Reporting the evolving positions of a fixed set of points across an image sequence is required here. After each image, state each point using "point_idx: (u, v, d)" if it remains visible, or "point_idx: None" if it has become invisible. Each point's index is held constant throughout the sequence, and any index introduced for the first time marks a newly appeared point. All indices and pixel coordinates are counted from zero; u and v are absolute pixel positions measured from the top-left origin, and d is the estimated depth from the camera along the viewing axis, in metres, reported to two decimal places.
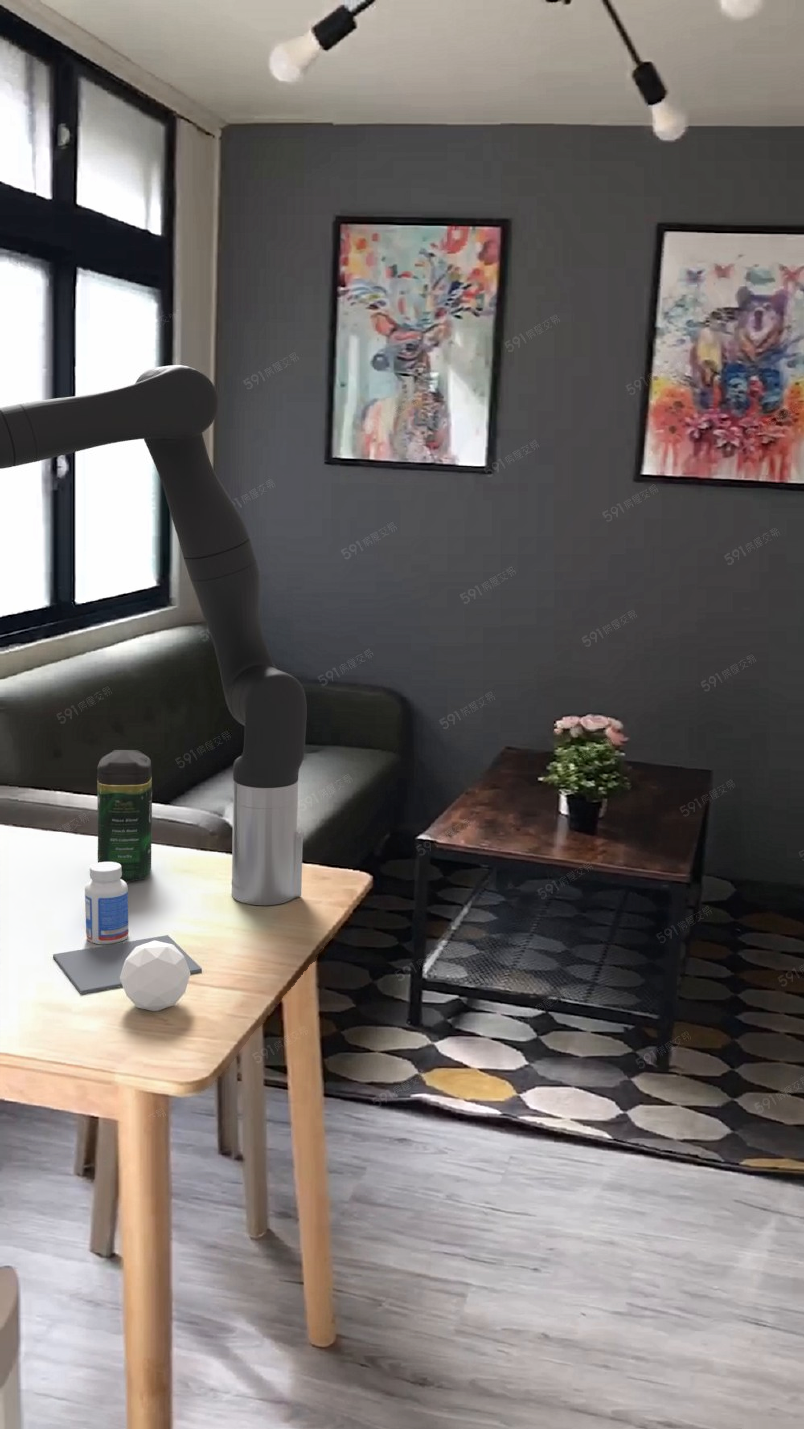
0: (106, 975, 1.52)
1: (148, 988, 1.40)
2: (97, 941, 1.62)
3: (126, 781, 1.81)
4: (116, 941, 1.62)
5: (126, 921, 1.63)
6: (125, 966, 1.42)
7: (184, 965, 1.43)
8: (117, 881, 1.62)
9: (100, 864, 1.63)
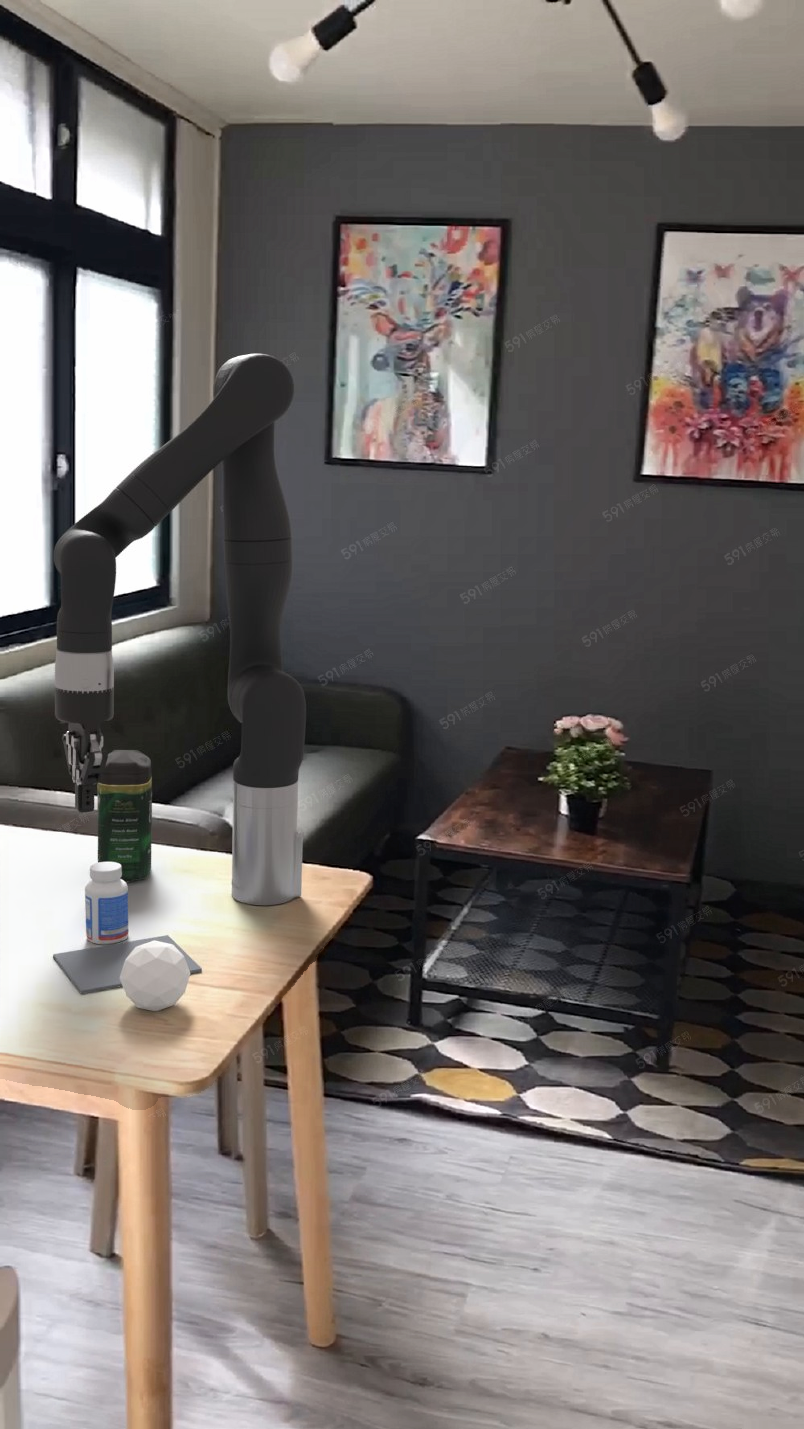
0: (106, 975, 1.52)
1: (148, 988, 1.40)
2: (97, 941, 1.62)
3: (126, 781, 1.81)
4: (116, 941, 1.62)
5: (126, 921, 1.63)
6: (125, 966, 1.42)
7: (184, 965, 1.43)
8: (118, 881, 1.62)
9: (100, 864, 1.63)
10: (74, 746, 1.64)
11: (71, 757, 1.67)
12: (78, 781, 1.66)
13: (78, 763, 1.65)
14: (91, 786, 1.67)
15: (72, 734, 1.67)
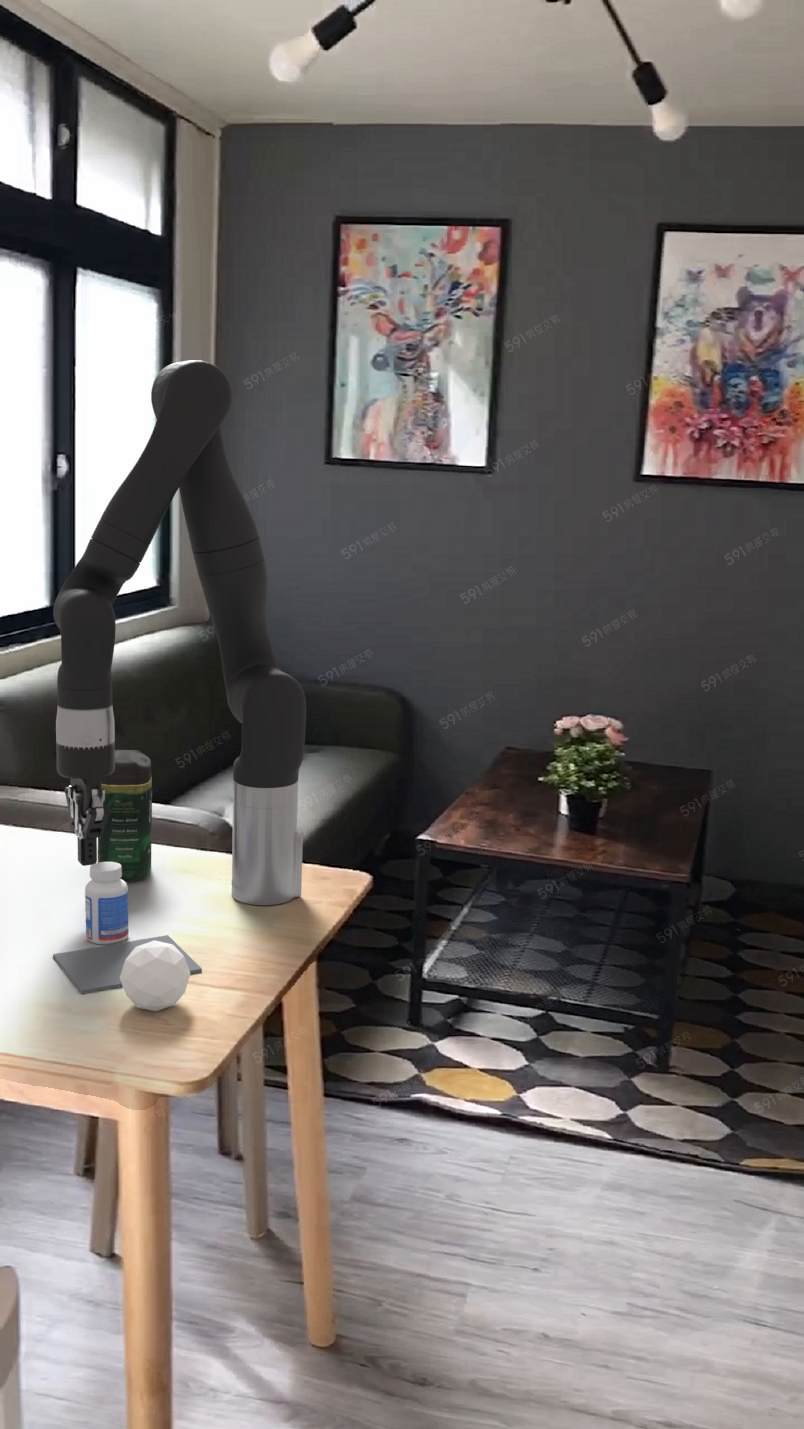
0: (106, 975, 1.52)
1: (148, 988, 1.40)
2: (97, 941, 1.62)
3: (126, 781, 1.81)
4: (116, 941, 1.62)
5: (126, 921, 1.63)
6: (125, 966, 1.42)
7: (184, 965, 1.43)
8: (118, 881, 1.62)
9: (100, 864, 1.63)
10: (76, 801, 1.66)
11: (73, 811, 1.68)
12: (80, 835, 1.67)
13: (80, 817, 1.66)
14: (93, 840, 1.68)
15: (74, 788, 1.68)
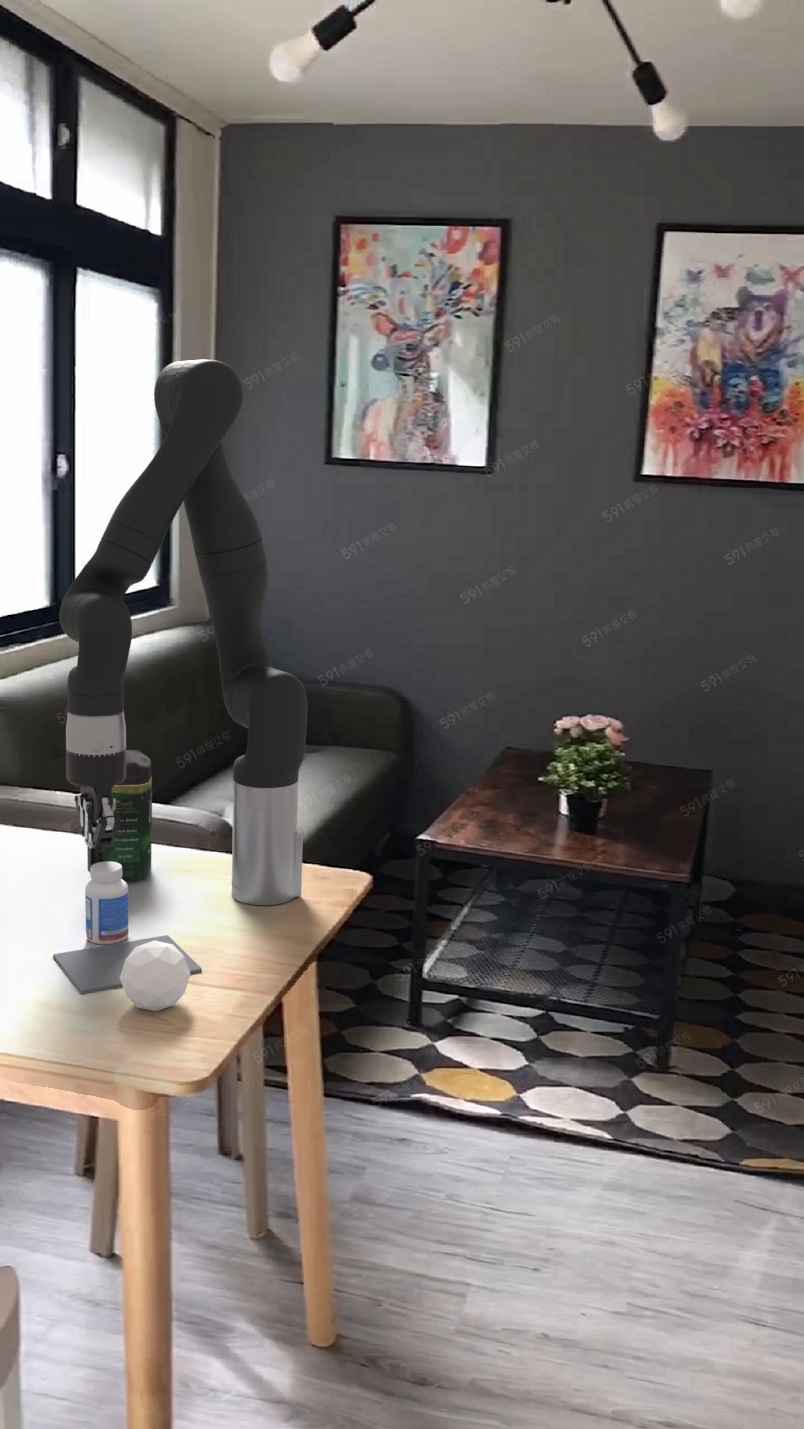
0: (106, 975, 1.52)
1: (148, 988, 1.40)
2: (97, 941, 1.62)
3: (126, 781, 1.81)
4: (116, 941, 1.62)
5: (126, 921, 1.63)
6: (125, 966, 1.42)
7: (184, 965, 1.43)
8: (118, 881, 1.62)
9: (101, 864, 1.63)
10: (86, 809, 1.61)
11: (83, 820, 1.64)
12: (90, 844, 1.63)
13: (90, 826, 1.62)
14: (104, 849, 1.64)
15: (84, 796, 1.63)
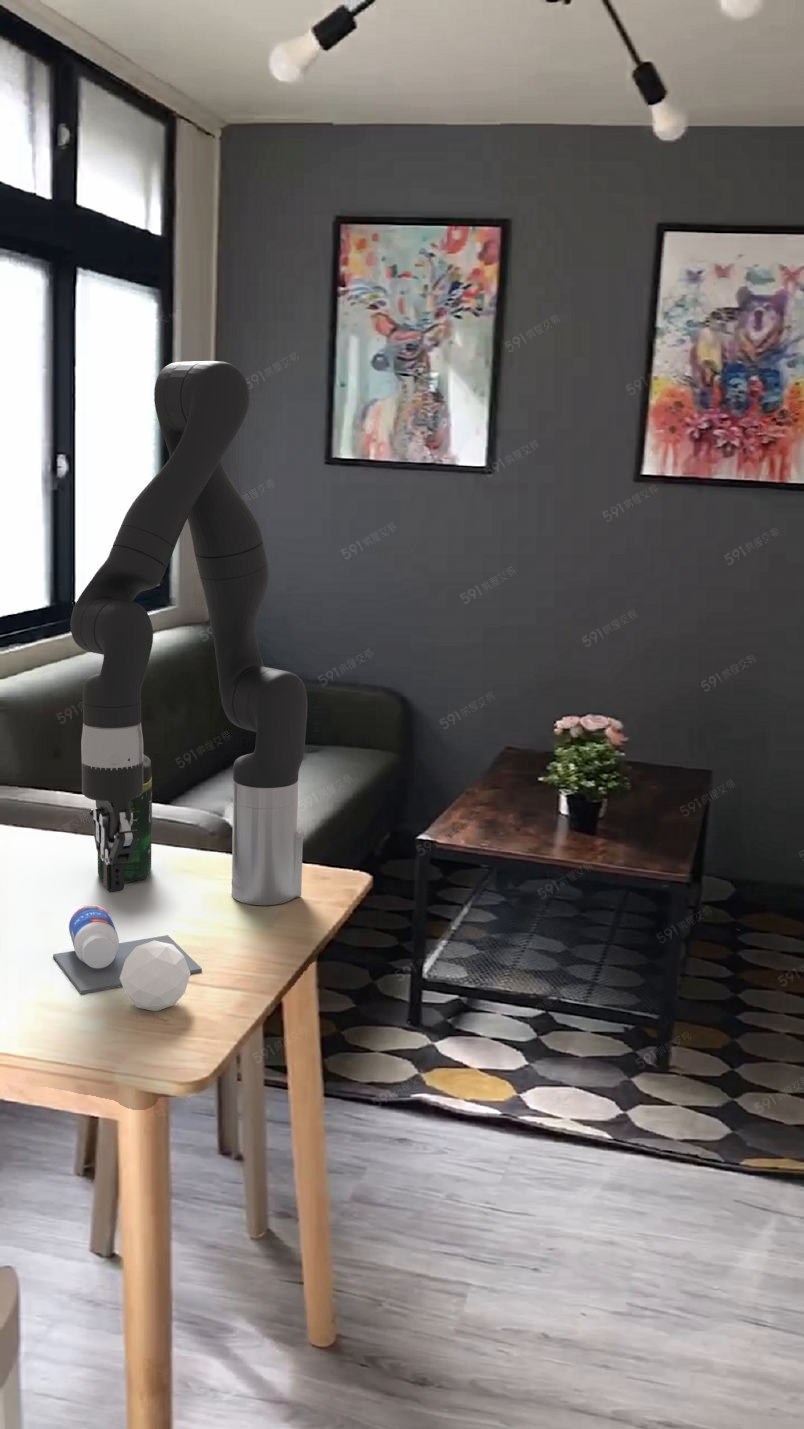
0: (106, 975, 1.52)
1: (148, 988, 1.40)
2: None
3: None
4: None
5: (112, 922, 1.59)
6: (125, 966, 1.42)
7: (184, 965, 1.43)
8: None
9: (90, 952, 1.51)
10: (102, 824, 1.56)
11: (99, 835, 1.58)
12: (107, 860, 1.58)
13: (107, 842, 1.57)
14: (121, 865, 1.58)
15: (100, 811, 1.58)
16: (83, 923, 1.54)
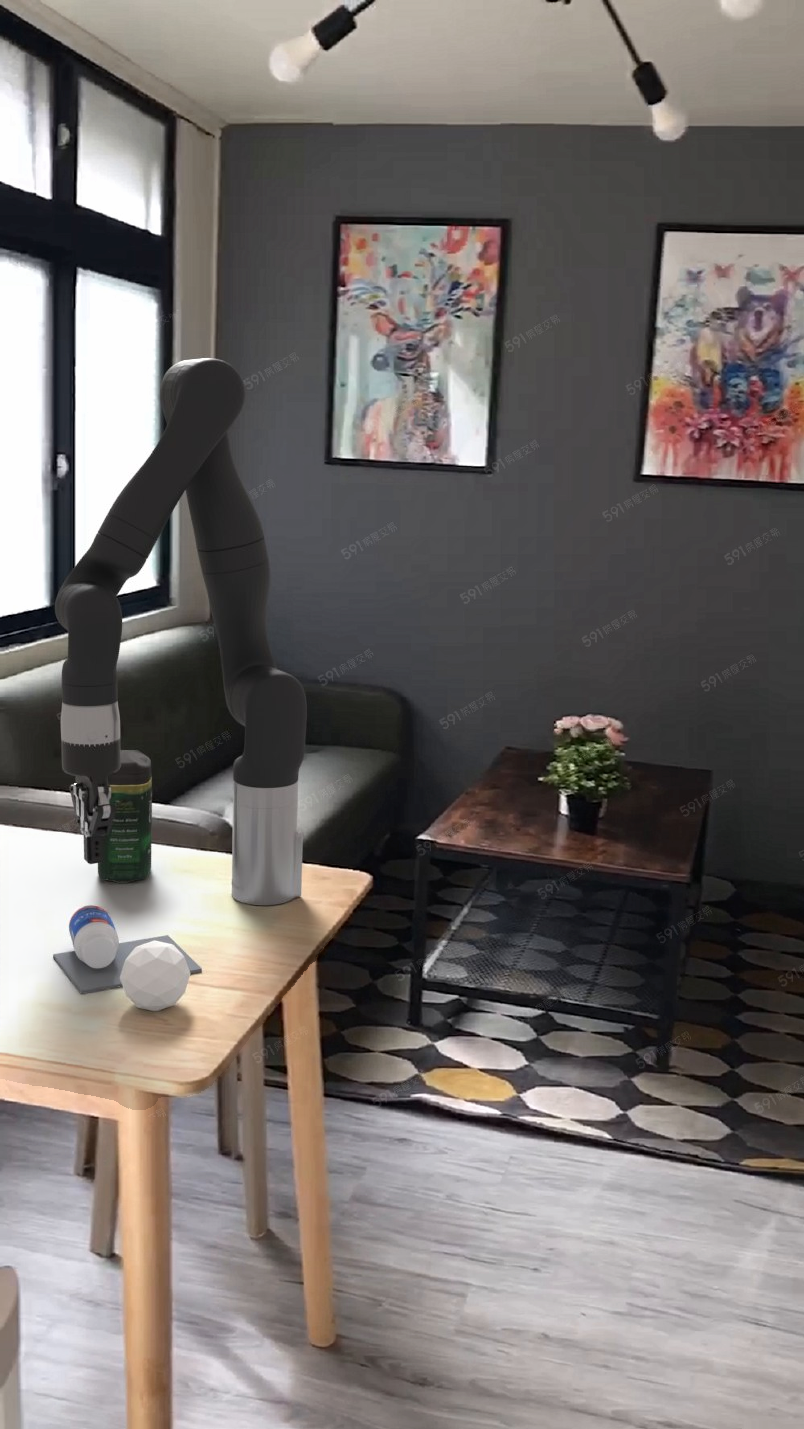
0: (106, 975, 1.52)
1: (148, 988, 1.40)
2: None
3: (126, 781, 1.81)
4: None
5: None
6: (125, 966, 1.42)
7: (184, 965, 1.43)
8: None
9: (90, 952, 1.51)
10: (82, 799, 1.63)
11: (79, 809, 1.66)
12: (87, 833, 1.65)
13: (86, 815, 1.64)
14: (100, 837, 1.66)
15: (79, 786, 1.66)
16: (83, 923, 1.54)
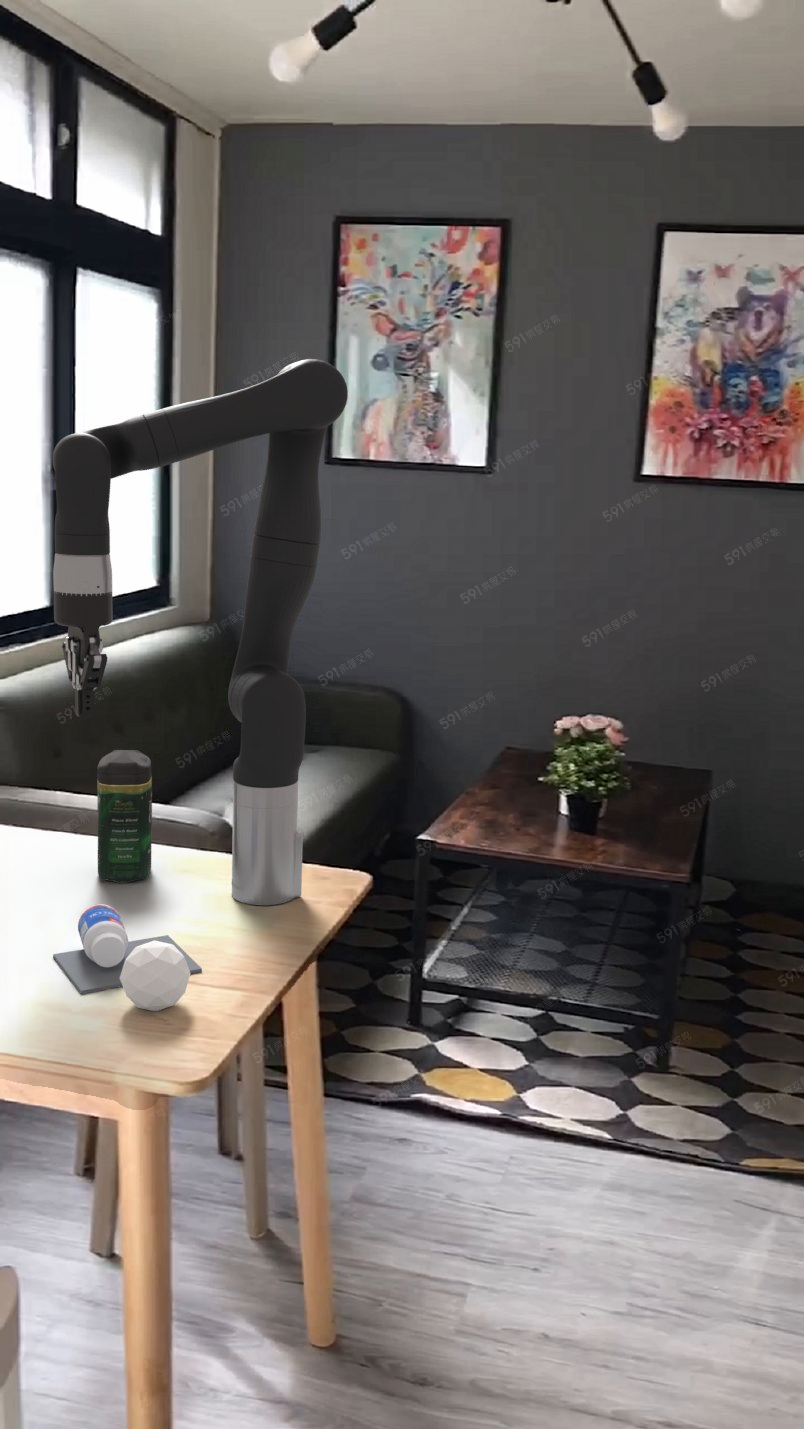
0: (106, 975, 1.52)
1: (148, 988, 1.40)
2: None
3: (126, 781, 1.81)
4: None
5: None
6: (125, 966, 1.42)
7: (184, 965, 1.43)
8: None
9: (101, 948, 1.51)
10: (73, 650, 1.65)
11: (71, 662, 1.67)
12: (78, 686, 1.67)
13: (78, 667, 1.66)
14: (91, 691, 1.68)
15: (71, 639, 1.67)
16: (101, 918, 1.55)
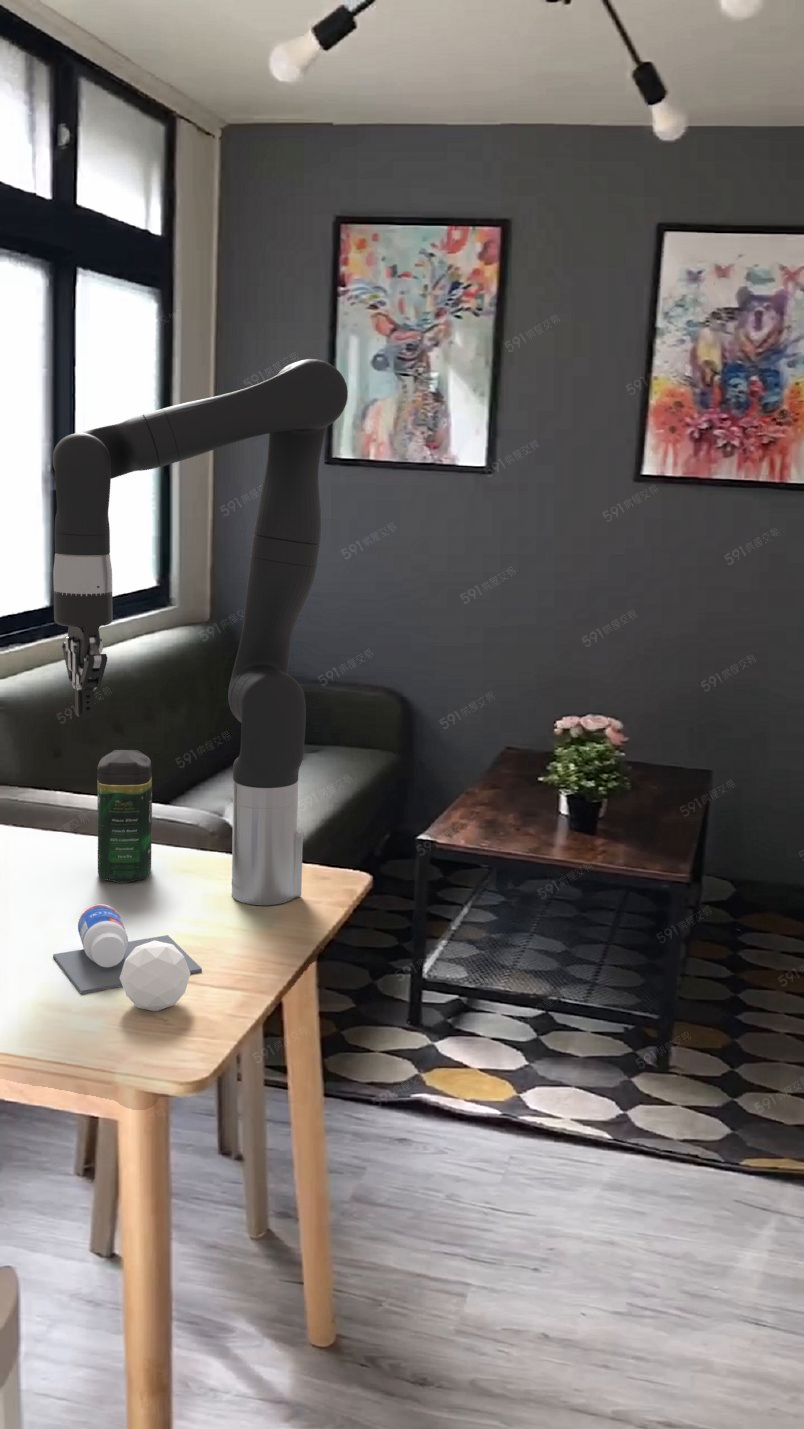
0: (106, 975, 1.52)
1: (148, 988, 1.40)
2: None
3: (126, 781, 1.81)
4: None
5: None
6: (125, 966, 1.42)
7: (184, 965, 1.43)
8: None
9: (101, 948, 1.51)
10: (73, 650, 1.65)
11: (71, 662, 1.67)
12: (78, 686, 1.67)
13: (78, 667, 1.66)
14: (91, 691, 1.68)
15: (71, 639, 1.67)
16: (101, 918, 1.55)
